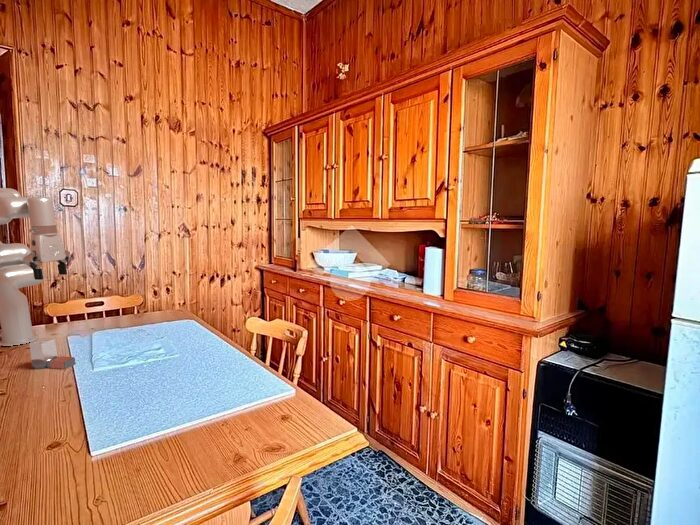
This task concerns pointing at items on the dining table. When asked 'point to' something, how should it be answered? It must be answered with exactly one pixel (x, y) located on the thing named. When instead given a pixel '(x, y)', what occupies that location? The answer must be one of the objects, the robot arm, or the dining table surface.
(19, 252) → the robot arm
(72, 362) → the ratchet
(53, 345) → the brushed aluminum cube
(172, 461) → the dining table surface
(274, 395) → the dining table surface
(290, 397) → the dining table surface
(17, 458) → the dining table surface
